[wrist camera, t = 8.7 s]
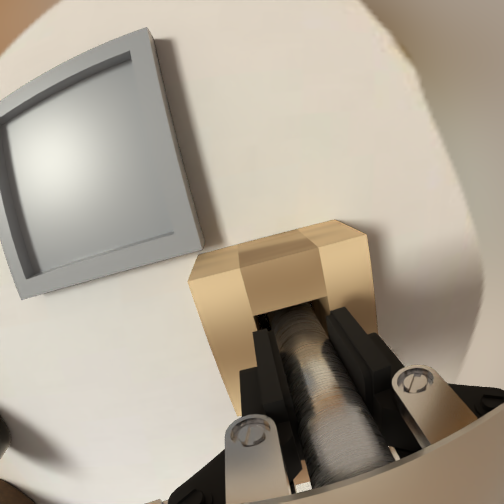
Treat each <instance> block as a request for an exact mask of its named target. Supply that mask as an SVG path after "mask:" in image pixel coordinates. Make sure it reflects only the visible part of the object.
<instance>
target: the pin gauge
mask: <svg viewBox="0 0 504 504" xmlns="http://www.w3.org/2000/svg"><path fill="white" fill-rule="evenodd" d="M267 314H268V318H269V322H270V326H271V330H272V331H274V334H275V338H276V341H277V345H278V349H279V353H280V356H281V360H282V364H283V368H284V371H285V375H286V379H287V383H288V386H289V390H290V394H291V398H292V401H293V405H294V409H295V413H296V417H297V421H298V425H299V428H298V435H299V439H300V443H301V447H302V451H303V455H304V459H305V463H306V467H307V471H308V475H309V478H310V482H311V486H312V489H315V488H319V487H323V486H326V485H330V484H333V483H336V482H340V481H343V480H346V479H349V478H352V477H355V476H358V475H361V474H364V473H367V472H369V471H372V470H375V469H377V468H380V467H383V466H385V465H388V464H390V463H392V462H395V461H396V460H395V458H394V456H393V454H392V453H391V451H390V449H389V447H388V445H387V443H386V441H385V439H384V438H383V436H382V434H381V432H380V430H379V428H378V426H377V425H376V423H375V421H374V419H373V417H372V415H371V413H370V412H369V410H368V408H367V406H366V405H365V403H364V401H363V399H362V397H361V396H360V394H359V392H358V390H357V388H356V386H355V385H354V383H353V381H352V379H351V377H350V376H349V374H348V372H347V370H346V368H345V367H344V365H343V363H342V361H341V359H340V358H339V356H338V354H337V352H336V351H335V349H334V347H333V345H332V343H331V342H330V340H329V338H328V336H327V334H326V333H325V331H324V329H323V327H322V326H321V324H320V322H319V320H318V319H317V317H316V315H315V313H314V312H313V310H312V308H311V306H310V305H309V303H308V301H307V302H304V303H300V304H297V305H293V306H289V307H286V308H282V309H278V310H274V311H271V312H267Z"/></svg>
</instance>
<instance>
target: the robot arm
mask: <svg viewBox="0 0 504 504" xmlns="http://www.w3.org/2000/svg"><path fill="white" fill-rule="evenodd" d="M326 323H327V329H328V335H329V340H330V342H331V343H332V345H333V347H334V349H335V351H336V352H337V354H338V356H339V358H340V359H341V361H342V363H343V365H344V367H345V368H346V370H347V372H348V374H349V376H350V377H351V379H352V381H353V383H354V385H355V386H356V388H357V390H358V392H359V394H360V396H361V397H362V399H363V401H364V403H365V405H366V406H367V408H368V410H369V412H370V413H371V415H372V417H373V419H374V421H375V423H376V425H377V426H378V428H379V430H380V432H381V434H382V436H383V438H384V439H385V441H386V443H387V445H388V446H389V449H390V451H391V453H392V454H393V456H394V458H395V460H396V461H395V462H392V463H390V464H388V465H385V466H383V467H380V468H377V469H375V470H372V471H369V472H367V473H364V474H361V475H358V476H355V477H352V478H349V479H346V480H343V481H340V482H336V483H333V484H330V485H326V486H323V487H319V488H315V489H311V490H308V491H304V492H299V493H297V490H296V485H295V481H294V478H295V477H296V476H297V475H298V474H299V473H300V471H301V470H302V469H303V468H302V464H301V460H305V459H304V455H303V451H302V447H301V443H300V439H299V435H298V428H299V425H298V421H297V417H296V413H295V409H294V405H293V401H292V398H291V394H290V390H289V386H288V383H287V379H286V375H285V371H284V368H283V364H282V360H281V356H280V353H279V349H278V345H277V341H276V338H275V334H274V331H270V332H268V330H267V328H266V329H262V330H259V331H255V332H252V333H253V340H254V348H255V355H256V362H257V367H253V368H248V369H244V370H240V371H239V377H240V395H241V412H242V417H241V418H239V419H237V420H235V421H234V422H233V423H232V424H231V425H230V426H229V427H228V429H227V430H226V433H225V449H224V450H223V451H222V452H221V453H220V454H218V455H217V456H216V457H215V458H214V459H213V460H211V461H210V462H209V463H208V464H207V465H206V466H204V467H203V468H202V469H201V470H200V471H198V472H197V473H196V474H195V475H193V476H192V477H191V478H190V479H188V480H187V481H186V482H185V483H183V484H182V485H181V486H180V487H178V488H177V489H176V490H175V491H174V492H173V493H172V494H171V496H170V498H169V499H168V500H166V501H163V502H162V501H161V500H160V499H158V500H155V501H152V502H149V503H146V504H504V390H501V389H499V388H491V387H479V386H467V385H457V384H447V383H446V382H445V381H444V380H443V378H442V377H441V376H440V375H439V374H438V373H437V372H436V371H435V370H434V369H432V368H431V367H428V366H426V365H410V366H407V367H404V365H403V364H402V363H401V362H400V361H399V359H398V358H397V357H396V356H395V355H394V353H393V352H392V351H391V350H390V349H389V347H388V346H387V345H386V344H385V343H384V341H383V340H382V339H381V338H380V337H379V335H378V334H377V333H375V332H373V333H370V334H367V333H366V332H365V331H364V330H363V328H362V327H361V326H360V325H359V323H358V322H357V321H356V320H355V318H354V317H353V316H352V315H351V313H350V312H349V311H348V310H347V308H346V307H341V308H338V309H335V310H331V311H330V315H328V316H326Z"/></svg>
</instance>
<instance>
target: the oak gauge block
mask: <svg viewBox="0 0 504 504" xmlns="http://www.w3.org/2000/svg"><path fill="white" fill-rule="evenodd" d="M188 284H189V287H190V290H191V293H192V296H193V299H194V302H195V305H196V308H197V311H198V314H199V317H200V319H201V322H202V325H203V328H204V331H205V334H206V336H207V339H208V342H209V345H210V347H211V350H212V353H213V355H214V358H215V361H216V363H217V366H218V369H219V371H220V374H221V377H222V379H223V382H224V384H225V387H226V389H227V392H228V394H229V397H230V399H231V402H232V404H233V407H234V409H235V412H236V414H237V416H242V412H241V395H240V377H239V371H240V370H244V369H248V368H253V367H257V362H256V355H255V348H254V340H253V333H252V332H255V331H259V330H261V329H260V325H259V321H258V318H257V315H259V314H263V313H267V312H271V311H274V310H278V309H282V308H286V307H289V306H293V305H297V304H300V303H304V302H307V301H311V300H312V304H313V309H314V313H315V315H316V317H317V319H318V320H319V322H320V324H321V326H322V327H323V329H324V331H325V333H326V334H327V336H328V338H329V335H328V329H327V323H326V316H328V315H330V311H331V310H335V309H338V308H341V307H346V308H347V310H348V311H349V312H350V313H351V315H352V316H353V317H354V318H355V320H356V321H357V322H358V323H359V325H360V326H361V327H362V328H363V330H364V331H365V332H366V333H367V334H370V333H373V332H375V333H377V334H378V328H377V316H376V305H375V295H374V286H373V277H372V269H371V261H370V254H369V247H368V240H367V234H365V233H362V232H360V231H358V230H356V229H354V228H352V227H350V226H348V225H345V224H343V223H341V222H339V221H337V220H331V221H327V222H323V223H319V224H315V225H311V226H307V227H303V228H299V229H295V230H291V231H287V232H284V233H280V234H276V235H272V236H268V237H264V238H260V239H257V240H253V241H249V242H245V243H241V244H237V245H234V246H230V247H226V248H222V249H218V250H214V251H211V252H207V253H203V254H199V255H198V256H197V259H196V261H195V264H194V267H193V269H192V272H191V274H190V277H189V279H188ZM270 331H272V330H269V331H268V332H270Z"/></svg>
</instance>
